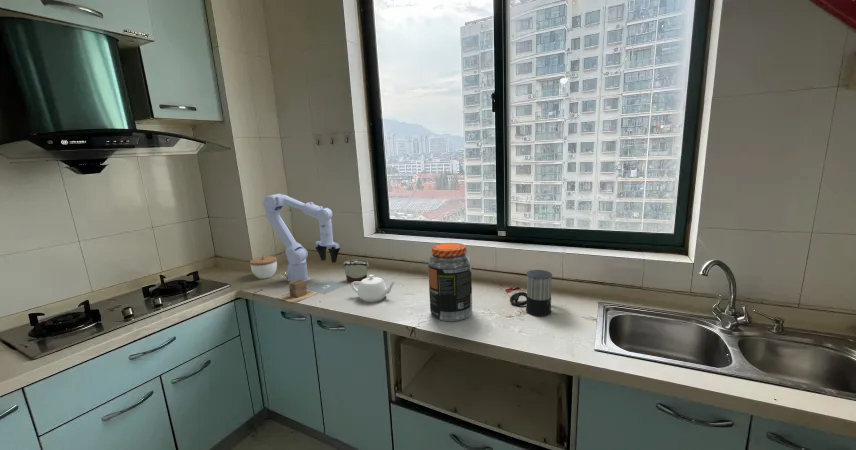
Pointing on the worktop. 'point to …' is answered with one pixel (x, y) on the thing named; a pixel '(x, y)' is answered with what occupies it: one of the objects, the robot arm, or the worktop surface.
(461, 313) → the supplement tub
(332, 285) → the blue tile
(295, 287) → the walnut block
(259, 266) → the lidded bowl
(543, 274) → the milk frother
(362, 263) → the food container
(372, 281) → the teapot
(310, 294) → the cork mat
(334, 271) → the worktop surface
